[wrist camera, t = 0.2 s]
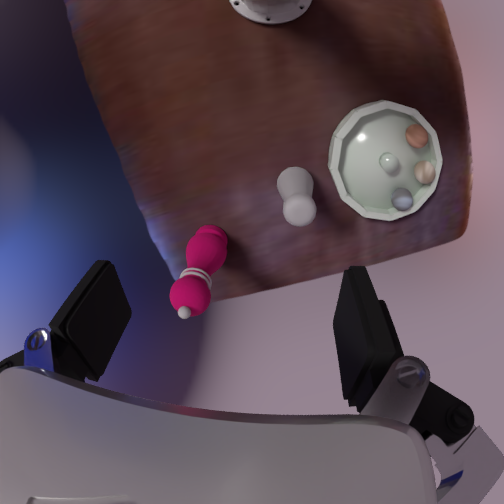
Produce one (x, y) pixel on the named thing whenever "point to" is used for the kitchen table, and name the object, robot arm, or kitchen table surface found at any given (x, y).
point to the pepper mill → (199, 271)
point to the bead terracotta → (416, 136)
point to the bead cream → (424, 172)
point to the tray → (365, 156)
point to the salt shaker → (297, 196)
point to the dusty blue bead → (401, 199)
